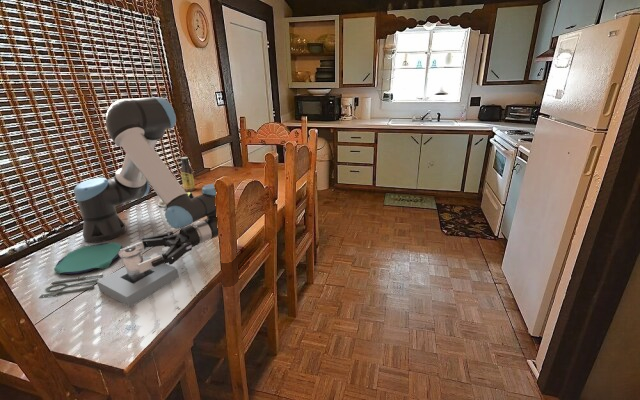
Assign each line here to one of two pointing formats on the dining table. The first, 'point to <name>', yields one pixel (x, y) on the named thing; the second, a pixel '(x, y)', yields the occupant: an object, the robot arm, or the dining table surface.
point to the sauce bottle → (187, 175)
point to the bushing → (133, 262)
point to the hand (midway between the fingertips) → (129, 260)
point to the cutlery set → (84, 264)
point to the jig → (133, 293)
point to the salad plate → (165, 205)
